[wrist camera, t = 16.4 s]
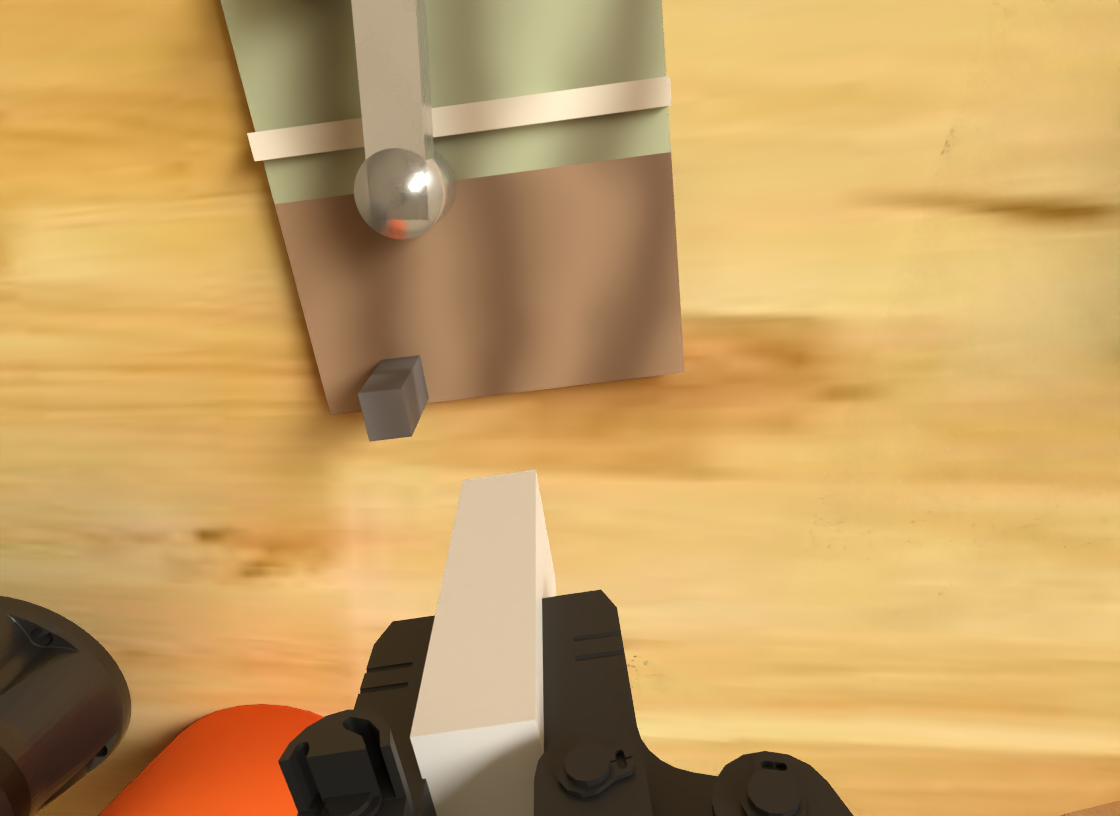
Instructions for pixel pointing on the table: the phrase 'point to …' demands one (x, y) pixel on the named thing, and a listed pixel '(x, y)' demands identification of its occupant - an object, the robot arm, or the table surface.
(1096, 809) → the sandwich container
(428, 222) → the lock bar
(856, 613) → the table surface
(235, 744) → the flowerpot
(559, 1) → the lever base plate
